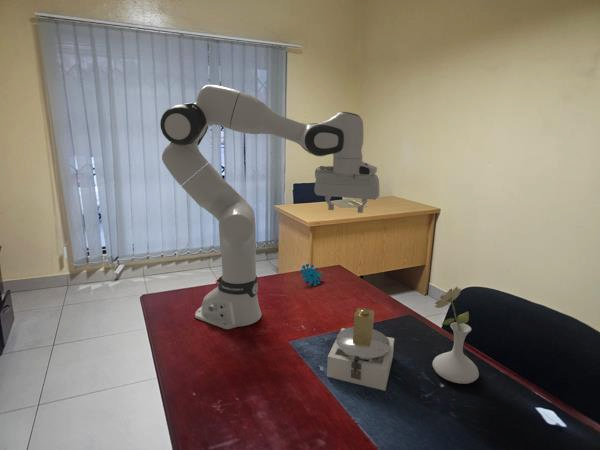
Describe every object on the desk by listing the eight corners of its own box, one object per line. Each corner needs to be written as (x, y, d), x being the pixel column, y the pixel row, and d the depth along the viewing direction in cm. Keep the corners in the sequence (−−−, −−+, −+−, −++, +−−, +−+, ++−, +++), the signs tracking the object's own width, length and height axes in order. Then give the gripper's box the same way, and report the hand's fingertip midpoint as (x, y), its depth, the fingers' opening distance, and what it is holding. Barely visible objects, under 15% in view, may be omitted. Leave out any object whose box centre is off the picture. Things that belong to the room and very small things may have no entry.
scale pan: (327, 372, 95) (328, 353, 94) (342, 340, 110) (343, 323, 108) (383, 385, 90) (384, 365, 89) (391, 350, 105) (392, 332, 104)
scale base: (326, 377, 97) (327, 357, 95) (341, 346, 111) (341, 328, 109) (385, 391, 92) (386, 370, 90) (392, 357, 106) (394, 338, 104)
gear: (306, 285, 149) (298, 263, 153) (299, 292, 153) (291, 270, 157) (327, 283, 155) (319, 262, 160) (320, 289, 159) (312, 268, 164)
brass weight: (352, 343, 98) (354, 312, 96) (355, 334, 102) (357, 305, 100) (369, 346, 97) (372, 315, 95) (372, 337, 101) (374, 307, 99)
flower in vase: (461, 359, 105) (473, 276, 99) (487, 385, 95) (502, 294, 88) (418, 363, 103) (427, 279, 97) (440, 391, 92) (452, 298, 86)
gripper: (312, 166, 116) (311, 210, 119) (378, 169, 109) (375, 216, 112) (318, 164, 121) (317, 206, 125) (382, 167, 114) (379, 211, 118)
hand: (345, 211), depth 118 cm, fingers open, 8 cm apart
